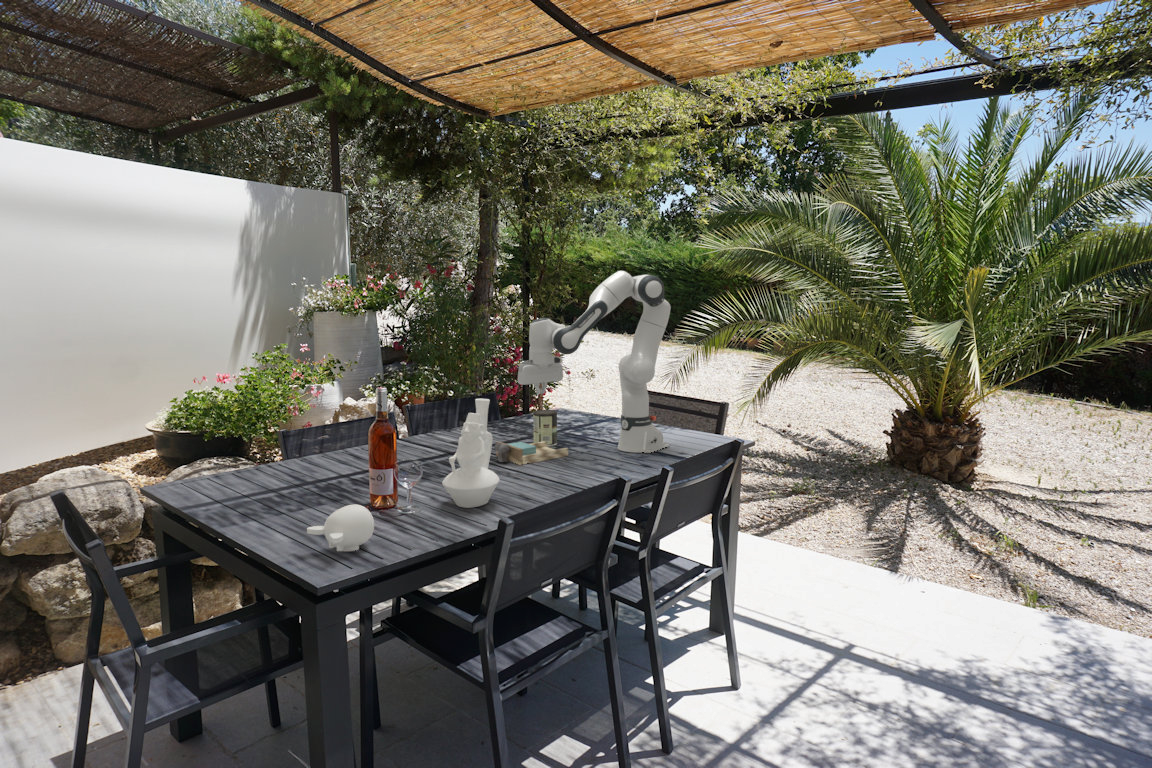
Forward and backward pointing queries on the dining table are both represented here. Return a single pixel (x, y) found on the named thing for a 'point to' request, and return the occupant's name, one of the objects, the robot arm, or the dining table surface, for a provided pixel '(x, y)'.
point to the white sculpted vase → (473, 461)
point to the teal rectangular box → (525, 447)
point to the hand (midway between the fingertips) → (540, 393)
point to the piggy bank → (346, 528)
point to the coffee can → (545, 427)
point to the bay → (541, 454)
